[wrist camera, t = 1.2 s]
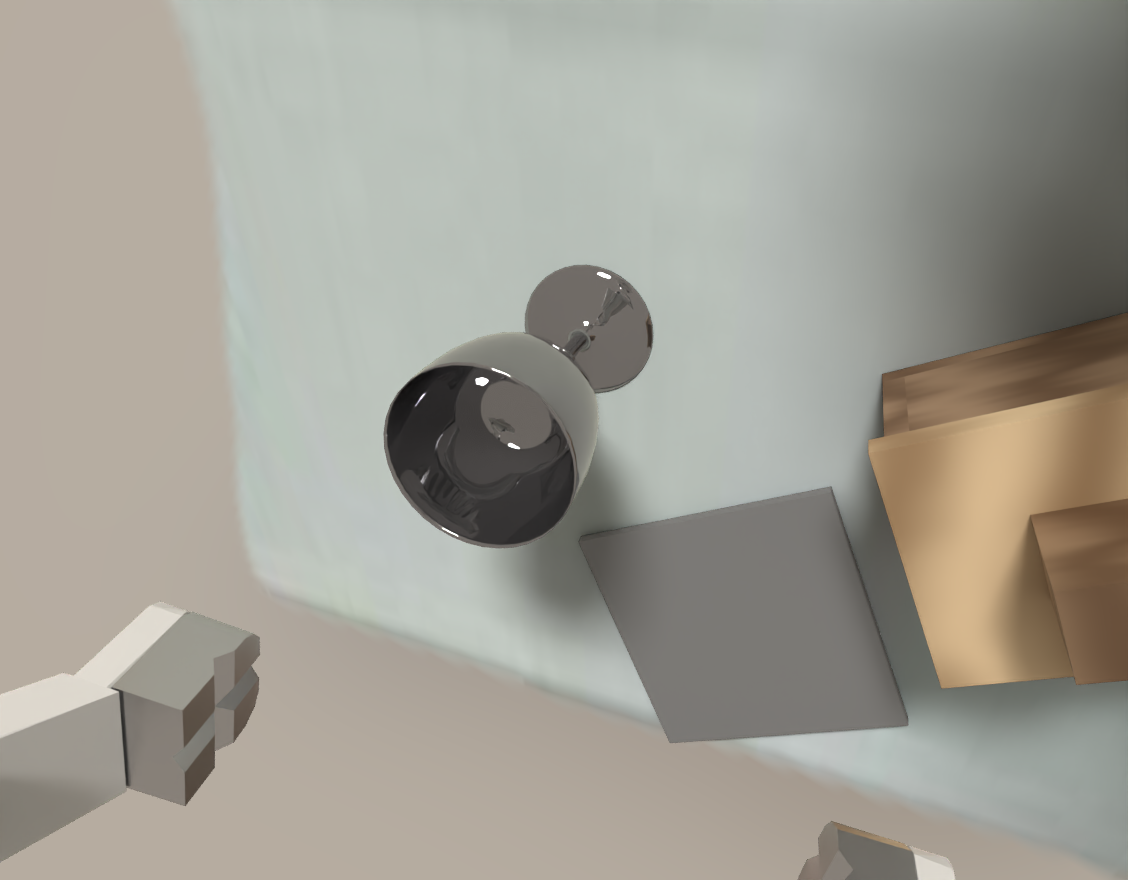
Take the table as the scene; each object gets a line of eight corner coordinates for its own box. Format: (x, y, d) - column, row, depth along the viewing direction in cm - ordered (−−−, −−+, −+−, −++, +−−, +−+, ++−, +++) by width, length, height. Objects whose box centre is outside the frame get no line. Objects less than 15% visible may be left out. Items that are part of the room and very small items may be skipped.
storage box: (1202, 293, 35) (1281, 363, 29) (1236, 513, 39) (1314, 622, 32) (882, 374, 41) (884, 447, 34) (937, 559, 45) (948, 660, 38)
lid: (1285, 335, 29) (1394, 425, 23) (1319, 614, 33) (1421, 754, 27) (868, 429, 35) (867, 519, 29) (938, 655, 39) (950, 777, 33)
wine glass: (596, 426, 47) (496, 582, 35) (490, 330, 47) (349, 454, 34) (692, 331, 43) (617, 469, 30) (577, 224, 42) (452, 320, 30)
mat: (831, 486, 45) (830, 492, 44) (908, 717, 50) (908, 725, 49) (581, 536, 51) (578, 542, 51) (671, 736, 56) (669, 743, 56)
